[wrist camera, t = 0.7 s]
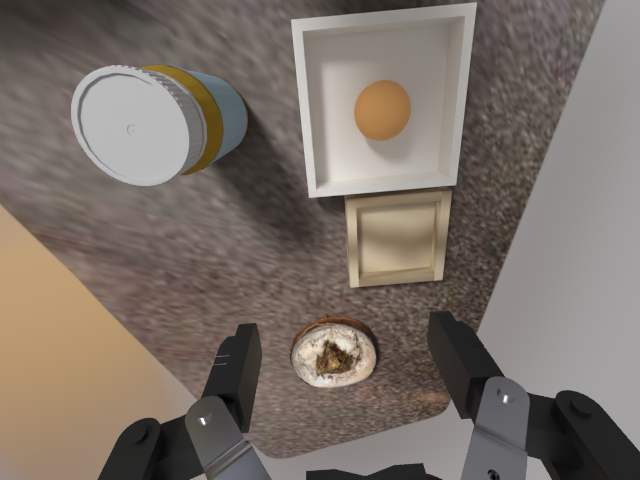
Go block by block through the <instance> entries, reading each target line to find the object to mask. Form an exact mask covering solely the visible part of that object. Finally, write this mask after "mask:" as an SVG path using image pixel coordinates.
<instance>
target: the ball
mask: <svg viewBox="0 0 640 480" xmlns="http://www.w3.org/2000/svg"><path fill="white" fill-rule="evenodd" d="M410 114H411V103H410V99H409V96H408V94H407V92H406V91H405V90H404V88H403V87H402V86H400V85H399V84H397V83H395V82H393V81H388V80H381V81H377V82H374V83H372V84H370V85H369V86H367V87H366V88H365V89H364V90H363V91H362V92H361V93H360V95H359V96H358V98H357V101H356V103H355V108H354V118H355V122H356V125H357V127H358V129H359V130H360V132H361V133H362V134H363V135H365V136H366V137H368V138H370V139H372V140H376V141H384V140H389V139H391V138H393V137H395V136H397V135H398V134H399V133H400V132H401V131H402V130H403V129H404V128H405V126H406V125H407V123H408V121H409V118H410Z"/></svg>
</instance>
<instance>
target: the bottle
mask: <svg viewBox="0 0 640 480" xmlns="http://www.w3.org/2000/svg"><path fill="white" fill-rule="evenodd" d="M71 117H72V123H73V127H74V131H75V134H76V136H77V139H78V141H79V143H80V144H81V146H82V148H83V149H84V151H85V152H86V154H87V155H88V156H89V158H90V159H91V160H92V161H93V162H94V163H95V164H96V165H97V166H98V167H99V168H101V169H102V170H103V171H104V172H106V173H107V174H109V175H110V176H112V177H114V178H116V179H118V180H120V181H123V182H125V183H129V184H133V185H138V186H153V185H159V184H163V183H165V182H168V181H170V180H172V179H174V178H175V177H177V176H179V175H188V174H192V173H194V172H197V171H199V170H201V169H204V168H205V167H207V166H208V165H210V164H211V163H213V162H215V161H216V160H218V159H219V158H221V157H222V156H224V155H225V154H227V153H229V152H230V151H232V150H233V149H234V148H235V147H237V146H238V145H239V144H240V143H241V142H242V140H243V138H244V136H245V134H246V132H247V127H248V114H247V109H246V106H245V104H244V101H243V99H242V97H241V96H240V94H239V93H238V92H237V91H236V89H235V88H234V87H233V86H231V85H230V84H228V83H227V82H226V81H224V80H222V79H220V78H217V77H214V76H211V75H206V74H202V73H198V72H193V71H189V70H185V69H180V68H176V67H172V66H164V65H153V66H145V67H142V68H136V67H130V66H122V65H118V66H114V65H112V66H111V67H108V66H106V67H104V68H100V69H98V70H95V71H93V72H92V73H90V74H89V75H87V76H86V77H85V78H84V79H83V80H82V81H81V82H80V84H79V85H78V87H77V88H76V90H75V93H74V96H73V99H72V106H71Z"/></svg>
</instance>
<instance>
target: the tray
mask: <svg viewBox="0 0 640 480" xmlns="http://www.w3.org/2000/svg"><path fill="white" fill-rule="evenodd" d="M451 196H452V190H451V189H449V188H448V187H446V186H440V187H429V188H417V189H406V190H394V191H383V192H371V193H360V194H348V195H344V199H345V219H346V239H347V260H348V278H349V283H350V288H352V287H364V286H376V285H388V284H400V283H412V282H424V281H436V280H442V279H443V270H444V261H445V252H446V242H447V233H448V224H449V215H450V205H451Z"/></svg>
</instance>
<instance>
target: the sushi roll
mask: <svg viewBox="0 0 640 480" xmlns="http://www.w3.org/2000/svg"><path fill="white" fill-rule="evenodd" d="M325 317H326V318H322V319H321V320H318V321H316V322H314V323H310V325H308V326H307V327H306V328H305V329H302V330H300V331H299V333H298V334H296V336H295V338H294V340H293V343H294V344H293V346H292V349H291V354H290V361H291V364H292V366H293V368H294V370H295V372H296V373H297V374H298V376H299V378H300V379H301V380H303V381H304V382H305V383H306V384H309V385H311V386H313V387H317V388H336V387H344V386H348V385H352V384H356V382H357V383H358V382H361V381H363V380H365V379H366V378H368V377H369V375H370V374H371V373H372V371H373V370H374V368H375V367H376V364H377V361H378V352H379V351H378V350H377V344H378V343H377V344H376V342H375V341H376V339H375V338H374V336H373V335H372V333H371V331H370V328H369V327H368V326H366V325H364V324H363V323H362V322H360V321H359V320H356V319H353V318H346V317H329V318H327V315H326V314H325ZM374 329H375V327H374V328H372V330H373V331H374Z"/></svg>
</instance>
